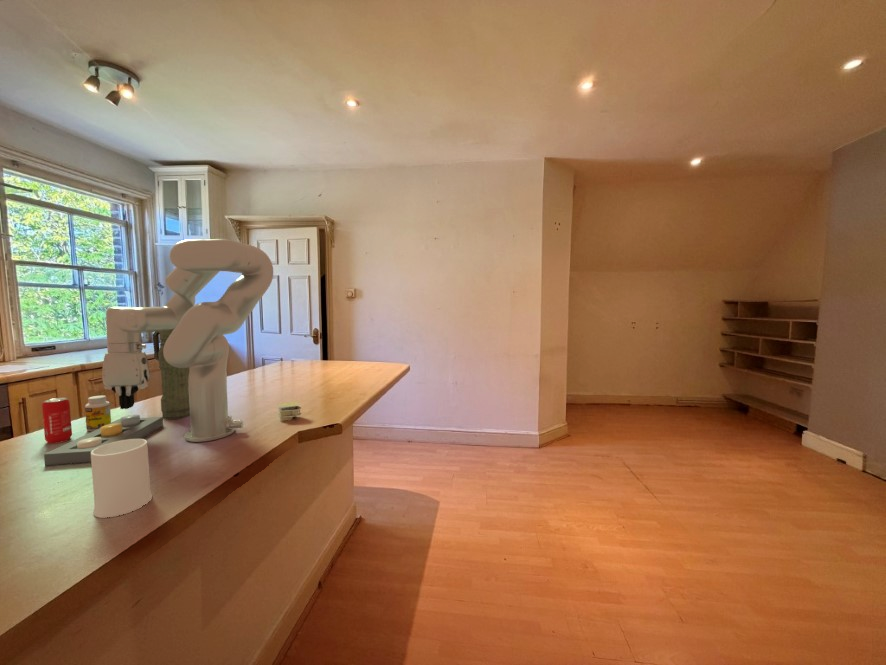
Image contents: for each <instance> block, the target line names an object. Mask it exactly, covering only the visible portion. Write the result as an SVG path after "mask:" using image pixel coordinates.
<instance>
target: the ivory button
mask: <svg viewBox="0 0 886 665" xmlns="http://www.w3.org/2000/svg"><path fill="white" fill-rule="evenodd" d="M100 444H102V441H101V438H100V437H93V438H88V439H84V440H81V441H78V442H77V448H78V449H80V448H94V447H96V446H98V445H100Z"/></svg>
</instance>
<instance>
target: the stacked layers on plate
mask: <svg viewBox="0 0 886 665" xmlns="http://www.w3.org/2000/svg"><path fill="white" fill-rule="evenodd" d="M301 405H302V403H300V402H298V401H289V402H284V403H279V404H278V411H279V413H278V417H279V420H281V421H282V422H284V421H283V420H288V421H292V420H293V418H294V417H297V418H298V417H299V416H301V415H302V413H301V410H302V407H301ZM291 419H292V420H291ZM281 421H280V422H281Z"/></svg>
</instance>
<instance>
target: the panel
mask: <svg viewBox="0 0 886 665" xmlns="http://www.w3.org/2000/svg"><path fill="white" fill-rule="evenodd" d="M115 423H121V421H120V418H119V419H116V420H115V421H111V423H110V424H115ZM108 425H109V424H108ZM162 427H164V419H163V417H162V416H155V417H154V416H153V417H140V423H139V424H138V425H136V426H122V433H121V434H119V435H117V436H104V437H101V430H100V428H99V429H97V430H95V431H89V433H86V434H85V435H82V436H80V437H78V438H76V439H73V440H71V441H70V442H67V443H65V444H63V445H61V446H59V447H57V448H55V449H54V448H53V449H52V450H51V451H48V452H46V453H44V454H43V458H44V459H43V460H44V461H43V462H44V467H51V466H65V465H80V464H91V451H92V450H94V449H95V448H97V447H100V446H102V445H105V444H108V443H112V442H116V441H121V440H127V439H144V438H145V437H147V436H149V435H150V434H153V433H154V432H156V431H157V430H159V429H160V428H162ZM93 437H100V438H101V441H102V444H100V445H98V446H96V447H94V448H80V449H78V448H77V442H78V441H81V440H84V439H88V438H93Z"/></svg>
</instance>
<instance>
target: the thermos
mask: <svg viewBox="0 0 886 665" xmlns="http://www.w3.org/2000/svg"><path fill="white" fill-rule="evenodd" d="M173 330H174V329H172V330H168V331H157V332H153V333H152V341H153V342H152V343H153V353H154V356H153V357H154V359H155V360H157V361H158V368H159V369H160V373H161V374H160V375H161V389H162V390H161V392H162V395H161V398H160V407H161V408H160V409H161V410H160V411H161V412H162V416H161V417H163V420H176V419H177V420H178V419H183V418H187V417H190V405H189V383H188V379H189V372H190V369H191V367H188V368H177V367H174V366H171V365H170V364H169V363H168V362H167V361H166V360H165V358H164V354H163V349H164V345H165V342H166V340H167V339H168V337H169V336H170V334H171V333H172V331H173Z"/></svg>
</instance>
